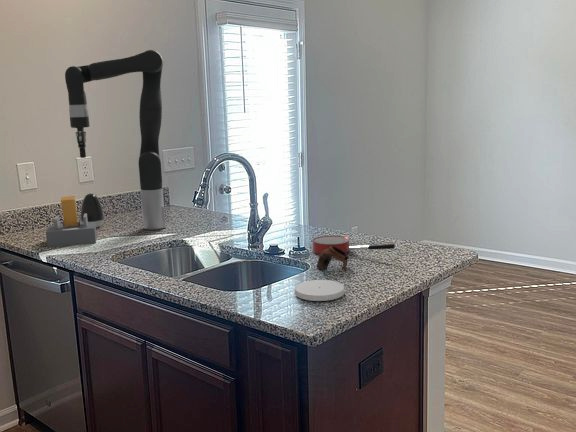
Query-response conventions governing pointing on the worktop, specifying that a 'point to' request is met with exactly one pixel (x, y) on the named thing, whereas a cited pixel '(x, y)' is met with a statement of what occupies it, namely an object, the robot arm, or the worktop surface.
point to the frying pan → (342, 244)
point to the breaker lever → (69, 211)
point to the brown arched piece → (326, 257)
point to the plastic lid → (319, 290)
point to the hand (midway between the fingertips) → (83, 157)
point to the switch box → (71, 233)
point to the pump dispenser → (92, 210)
